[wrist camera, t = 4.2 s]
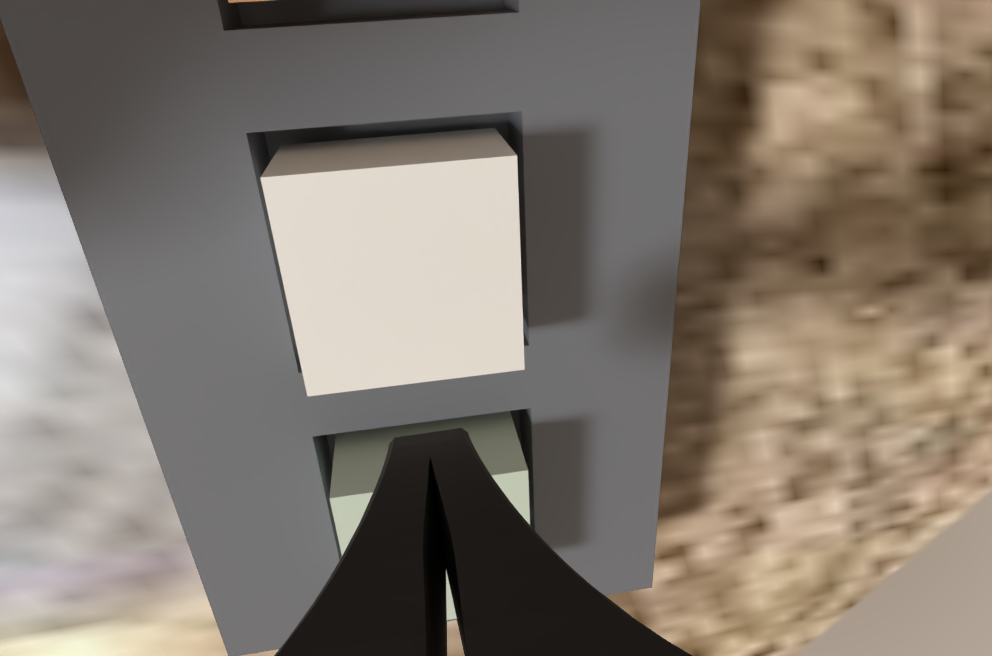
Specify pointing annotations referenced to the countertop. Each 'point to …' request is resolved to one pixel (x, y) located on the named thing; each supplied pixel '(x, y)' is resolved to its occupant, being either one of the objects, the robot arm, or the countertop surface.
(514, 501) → the sage key
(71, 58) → the keypad
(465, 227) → the white key
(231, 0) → the orange key
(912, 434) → the countertop surface
